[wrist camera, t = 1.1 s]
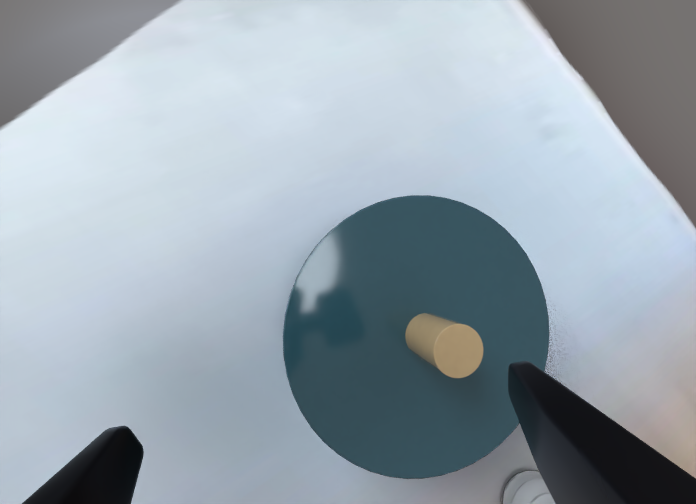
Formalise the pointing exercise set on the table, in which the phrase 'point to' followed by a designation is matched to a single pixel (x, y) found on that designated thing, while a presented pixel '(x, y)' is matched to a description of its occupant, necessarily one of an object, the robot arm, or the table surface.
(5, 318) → the table surface
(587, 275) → the table surface
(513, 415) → the lid
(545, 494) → the rook chess piece
